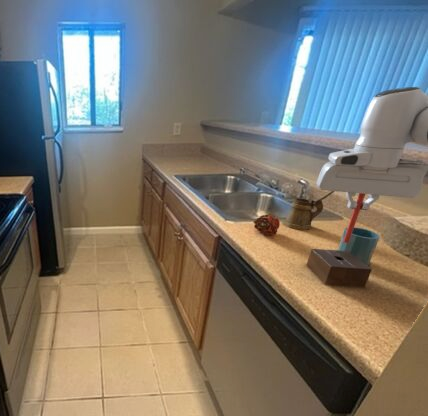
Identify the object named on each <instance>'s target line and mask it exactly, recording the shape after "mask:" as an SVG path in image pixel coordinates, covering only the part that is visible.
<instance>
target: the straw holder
mask: <svg viewBox="0 0 428 416" xmlns="http://www.w3.org/2000/svg"><path fill="white" fill-rule="evenodd" d="M306 266H307V267H308V268H309V269H310V270H311V272H312V273H313V274H315V276H316V277H317V278H318V279H319V280H320V281H321V282H322V283H323V284H324V285H328V286H341V287H353V288H365V287H366V285H367V283H368V281H369V277H370V276H371V273H372V270H373V269H372V268H371V267H369V265H368V266H367V265H366V264H364V263H363V262H362V261H360V260H359V259H358V258H356V257H355V256H354V255H352V254H351V253H350V252H348V251H340V250H338V249H322V248H321V249H320V248H311V249H310V253H309V255H308V260H307V262H306Z"/></svg>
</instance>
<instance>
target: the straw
mask: <svg viewBox="0 0 428 416" xmlns="http://www.w3.org/2000/svg"><path fill="white" fill-rule="evenodd" d="M365 196H366V194H361V193H358V196H357V200H356V202H357V203H358V205H357V206H356V207H357V208H356V209H353V211H352V213H351V214H352V215H351V217H350V220H349V222H348V226H347V227H348V229H347V232H346V235H345V238H344V241H343V242H346V243H349V240H350V238H351V235H352V232H353V229H354V227H356V223H357V221H358V217H359V214H360V211H361V206H362V203H363V202H364V199H365V198H366V197H365Z"/></svg>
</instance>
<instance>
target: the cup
mask: <svg viewBox="0 0 428 416" xmlns="http://www.w3.org/2000/svg"><path fill="white" fill-rule="evenodd" d="M347 229H348V226H347V227H345V228H344V230H343V232H342V236H341V239H340V241H339V245H338V248H337V250H340V251H348V252H350V253H351V254H352V255H354V256H355V257H356V258H358V259H359V260H360V261H362V262H363V263H364V264H366V265H367V266H368V267H369V265H370V263H371V260H372V258H373V255H374V252H375V250H376V248H377V245H378V243H379V240H380V235H379V234H378V233H377V232H375V231H372V230H369V229H366V228H362V227H357V226H354V229H353V232H352V235H351V238H350V240H349V243H346V242H343V241H344V238H345V235H346V232H347Z"/></svg>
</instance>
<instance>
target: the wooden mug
mask: <svg viewBox="0 0 428 416" xmlns="http://www.w3.org/2000/svg"><path fill="white" fill-rule="evenodd" d="M334 193H336V191H327V192H326V193H324V194H322V195H321V196H320V197H319V198H317V199H309V198H304V197H296V198H295V199H294V201H292V203H291V206H290V210H289V211H288V215H287V217H286V218H285V220H284V223H283V224H284V225H285V226H286V227H288V228H291V229H295V230H299V231H300V230H302V231H304V230H305V231H306V230H309V229H311V228H312V222H313V220H314V219H315V218H316V217H317V216H319V215H320V214H321V213H322V211H323V210H324V203H323V200H325V199H326V198H328V197H330V196H331V195H332V194H334ZM314 207H315V208H316V210H315V211H312V210H314V209H315V208H314Z"/></svg>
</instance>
